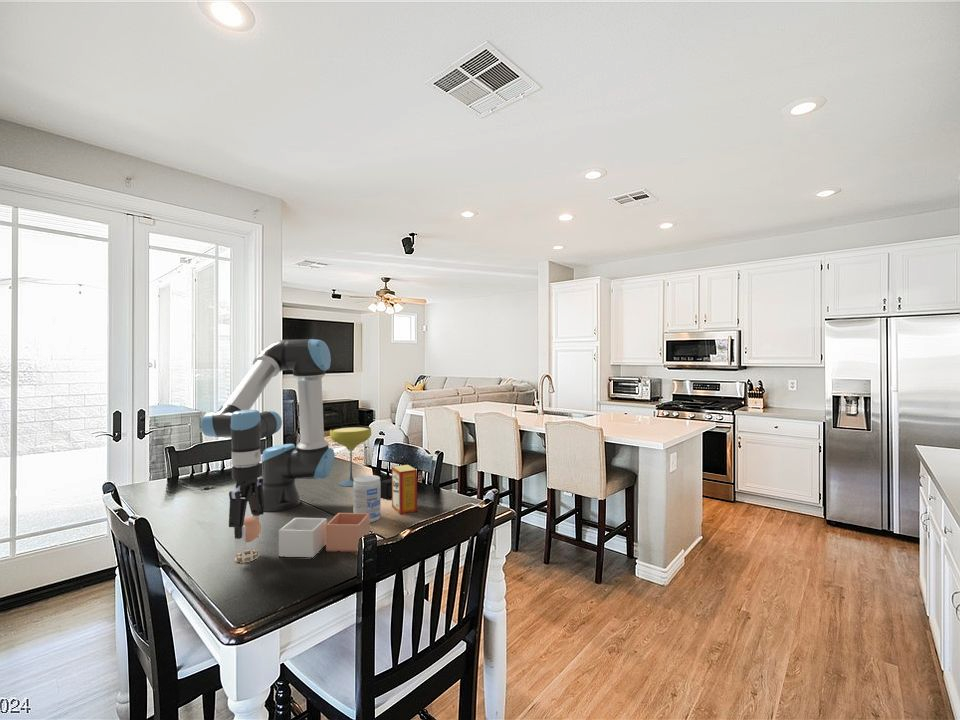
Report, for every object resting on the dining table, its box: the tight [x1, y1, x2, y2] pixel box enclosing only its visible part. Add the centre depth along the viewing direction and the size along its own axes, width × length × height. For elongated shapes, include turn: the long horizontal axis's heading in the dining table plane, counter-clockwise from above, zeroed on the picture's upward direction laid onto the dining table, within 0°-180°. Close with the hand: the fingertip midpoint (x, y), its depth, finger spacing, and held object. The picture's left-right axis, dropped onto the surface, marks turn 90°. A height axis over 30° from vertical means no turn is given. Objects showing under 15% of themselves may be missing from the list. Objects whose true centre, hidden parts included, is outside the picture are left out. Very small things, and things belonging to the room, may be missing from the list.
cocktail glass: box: [329, 425, 372, 488], centre depth 209 cm, size 18×18×25 cm
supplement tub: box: [352, 474, 382, 523], centre depth 164 cm, size 10×10×15 cm
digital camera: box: [380, 477, 392, 501], centre depth 191 cm, size 10×5×7 cm, turn 143°
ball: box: [233, 516, 262, 543], centre depth 133 cm, size 7×7×7 cm
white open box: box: [278, 517, 328, 559], centre depth 138 cm, size 10×10×8 cm
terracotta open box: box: [325, 512, 371, 553], centre depth 142 cm, size 10×10×8 cm
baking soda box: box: [391, 464, 418, 515], centre depth 175 cm, size 10×6×16 cm
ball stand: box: [234, 549, 259, 564], centre depth 133 cm, size 6×6×1 cm
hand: (248, 542), depth 133 cm, fingers closed on ball, 7 cm apart
